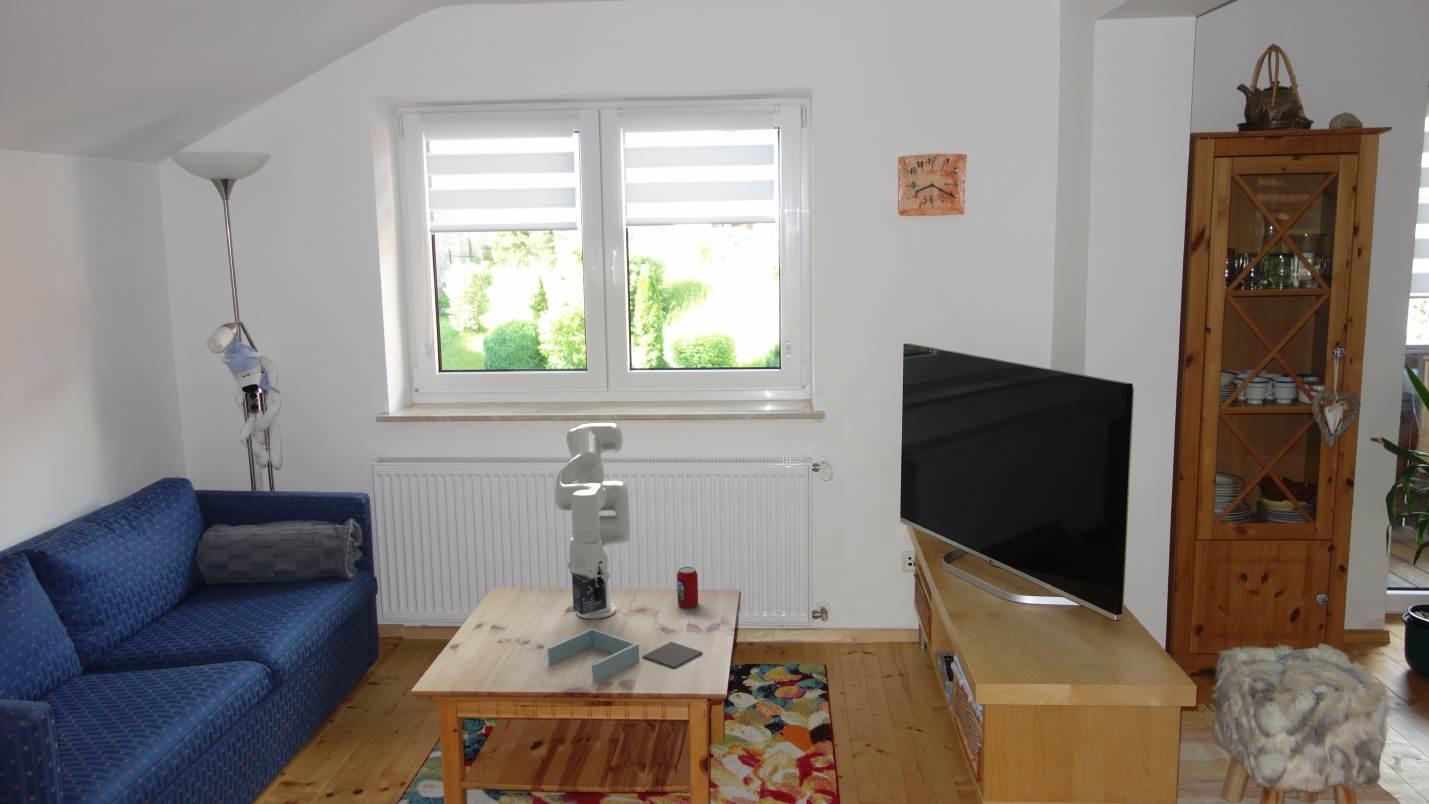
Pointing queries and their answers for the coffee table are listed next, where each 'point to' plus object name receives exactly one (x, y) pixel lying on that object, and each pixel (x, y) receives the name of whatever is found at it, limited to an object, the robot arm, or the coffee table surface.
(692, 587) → the beverage can
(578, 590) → the box
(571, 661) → the coffee table surface
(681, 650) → the mat
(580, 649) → the cubby
